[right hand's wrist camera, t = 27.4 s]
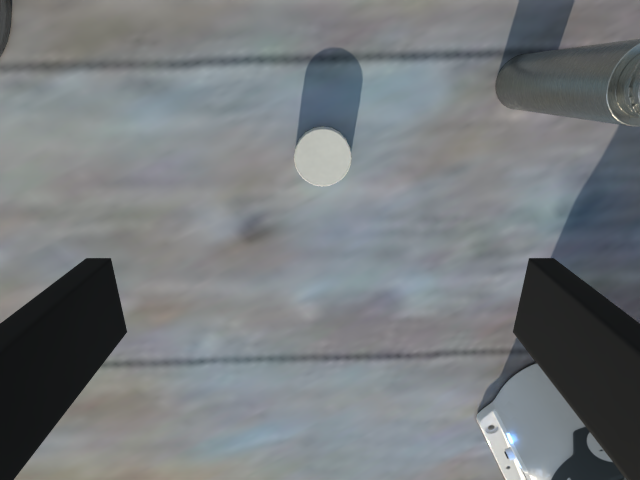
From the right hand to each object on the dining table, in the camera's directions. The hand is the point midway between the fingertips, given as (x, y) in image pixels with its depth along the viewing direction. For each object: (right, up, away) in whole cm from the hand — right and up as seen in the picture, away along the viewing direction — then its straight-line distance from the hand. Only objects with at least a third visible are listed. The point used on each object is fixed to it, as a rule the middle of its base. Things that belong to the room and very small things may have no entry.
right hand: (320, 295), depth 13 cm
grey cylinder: (+18, +16, +23) cm, 34 cm away
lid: (0, +9, +24) cm, 26 cm away
